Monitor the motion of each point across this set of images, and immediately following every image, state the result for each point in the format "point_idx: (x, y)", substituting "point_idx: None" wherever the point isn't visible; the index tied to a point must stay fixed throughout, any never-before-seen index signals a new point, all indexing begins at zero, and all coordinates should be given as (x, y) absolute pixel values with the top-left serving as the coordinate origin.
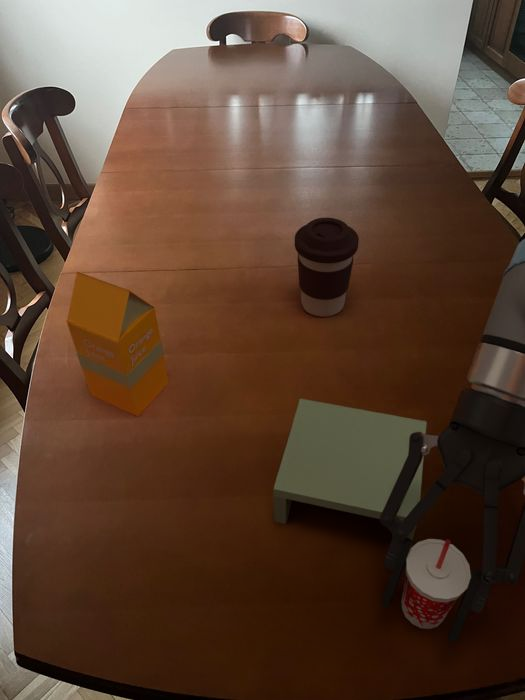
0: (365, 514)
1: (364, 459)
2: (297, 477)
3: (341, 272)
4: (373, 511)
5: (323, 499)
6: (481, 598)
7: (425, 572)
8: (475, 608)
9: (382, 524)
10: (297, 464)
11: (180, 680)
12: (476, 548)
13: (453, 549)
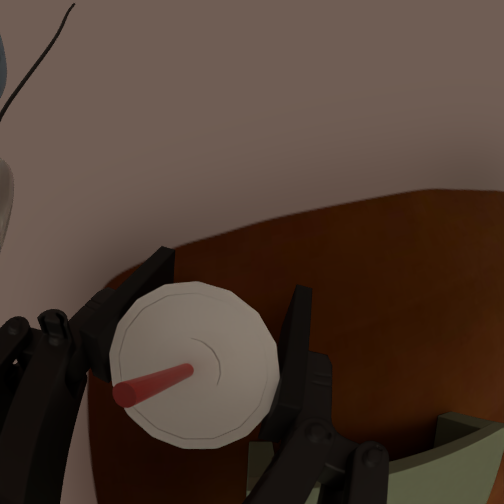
0: None
1: None
2: (480, 466)
3: None
4: None
5: (447, 455)
6: (94, 307)
7: (222, 350)
8: (112, 293)
9: (374, 442)
10: (478, 485)
11: (467, 193)
12: (143, 456)
13: (151, 425)
